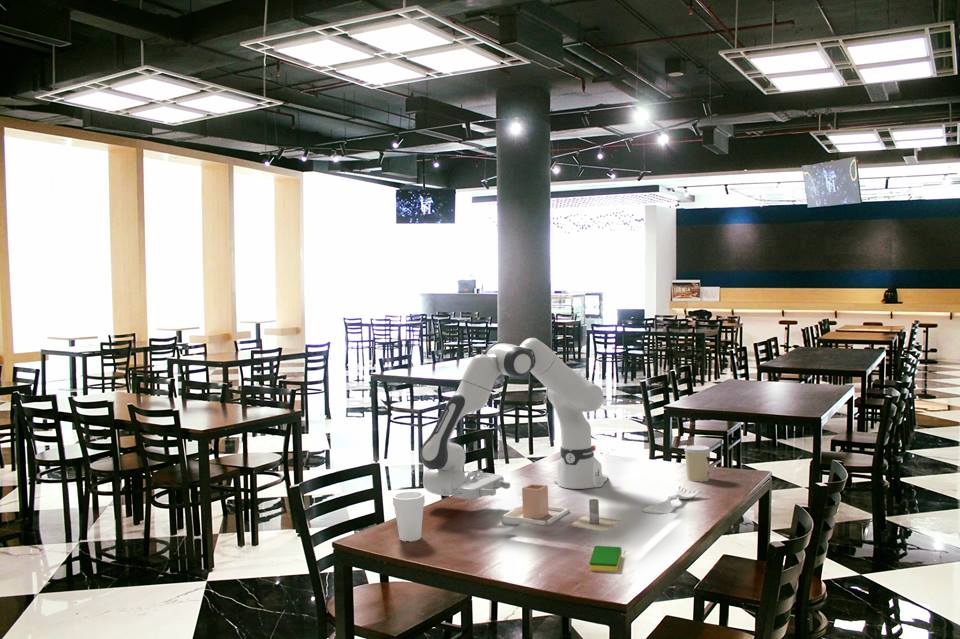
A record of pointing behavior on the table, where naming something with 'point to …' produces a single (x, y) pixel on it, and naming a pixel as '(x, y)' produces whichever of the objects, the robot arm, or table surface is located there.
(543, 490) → the sleeve
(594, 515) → the stand
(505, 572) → the table surface
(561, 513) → the tray
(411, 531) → the foam cup
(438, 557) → the table surface
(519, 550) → the table surface
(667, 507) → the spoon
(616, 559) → the dish sponge
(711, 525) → the table surface
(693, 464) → the coffee cup
